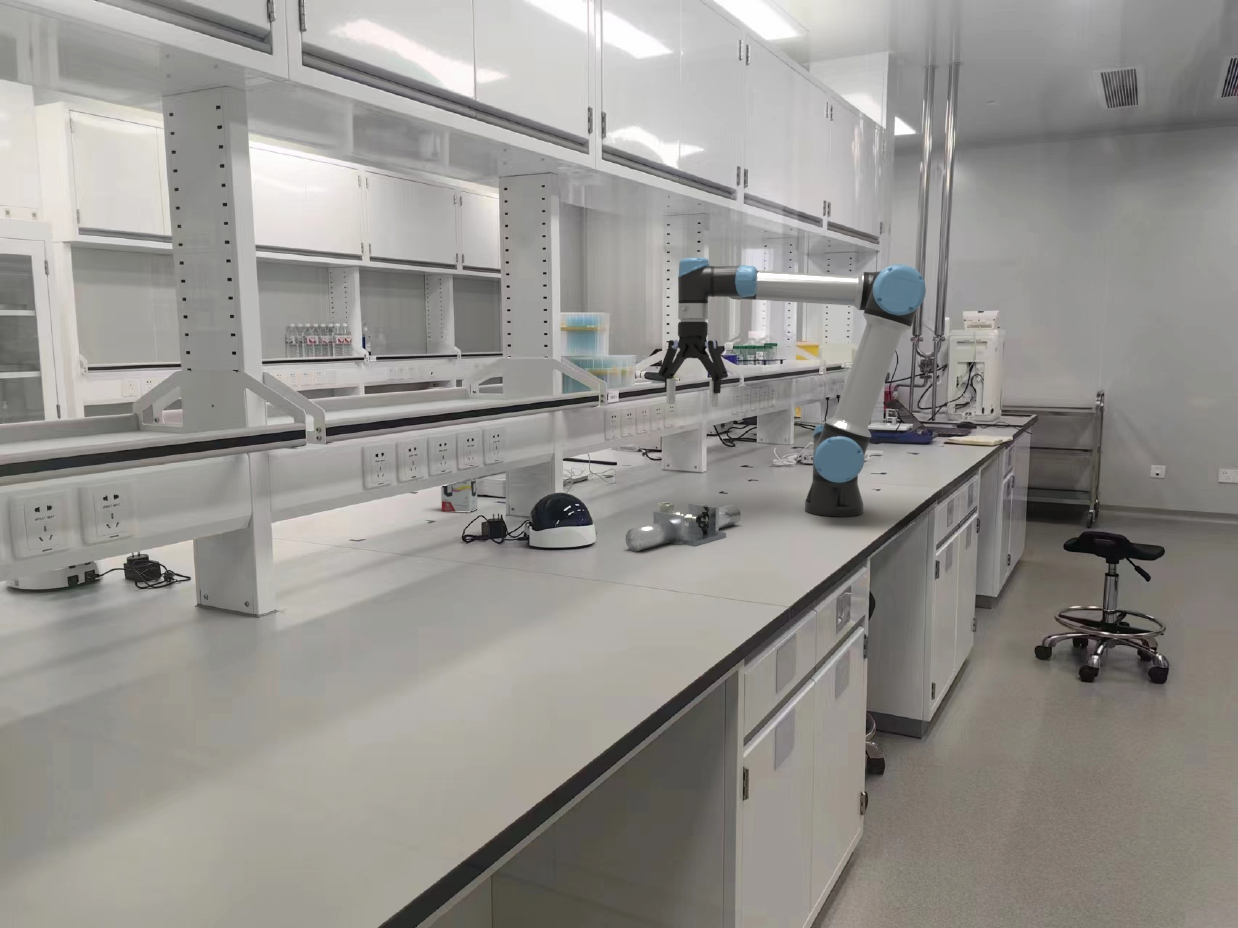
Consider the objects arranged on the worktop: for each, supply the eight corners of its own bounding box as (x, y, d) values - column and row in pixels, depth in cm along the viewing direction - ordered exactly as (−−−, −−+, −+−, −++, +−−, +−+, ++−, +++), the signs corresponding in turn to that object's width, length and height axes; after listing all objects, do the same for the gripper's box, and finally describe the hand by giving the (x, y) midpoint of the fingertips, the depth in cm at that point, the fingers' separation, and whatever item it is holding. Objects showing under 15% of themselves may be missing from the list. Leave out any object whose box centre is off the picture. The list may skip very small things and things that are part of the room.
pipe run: (709, 520, 223) (709, 495, 222) (755, 528, 214) (756, 502, 213) (610, 546, 196) (610, 517, 195) (659, 556, 186) (659, 526, 186)
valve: (653, 533, 203) (705, 536, 201) (653, 505, 202) (705, 508, 200) (659, 527, 210) (709, 530, 207) (659, 500, 209) (709, 502, 206)
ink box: (440, 511, 234) (439, 467, 233) (449, 508, 239) (448, 465, 237) (469, 513, 232) (468, 469, 230) (478, 509, 236) (477, 466, 235)
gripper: (645, 321, 227) (645, 403, 230) (725, 320, 211) (723, 408, 214) (663, 321, 233) (663, 401, 236) (742, 320, 216) (741, 407, 219)
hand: (691, 405), depth 225 cm, fingers open, 13 cm apart
